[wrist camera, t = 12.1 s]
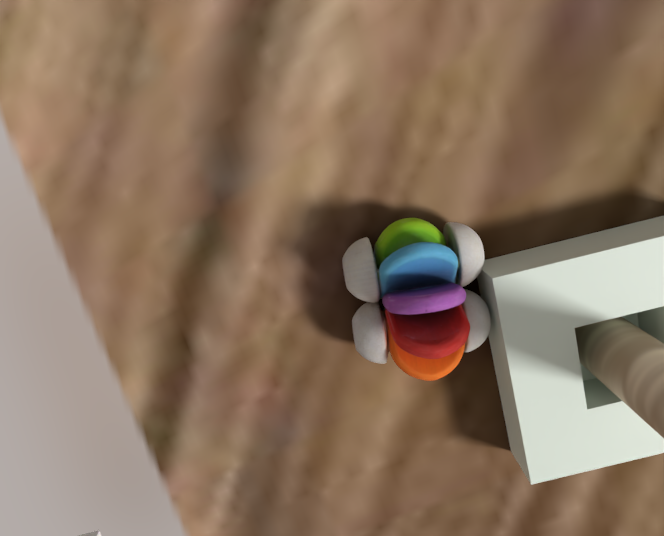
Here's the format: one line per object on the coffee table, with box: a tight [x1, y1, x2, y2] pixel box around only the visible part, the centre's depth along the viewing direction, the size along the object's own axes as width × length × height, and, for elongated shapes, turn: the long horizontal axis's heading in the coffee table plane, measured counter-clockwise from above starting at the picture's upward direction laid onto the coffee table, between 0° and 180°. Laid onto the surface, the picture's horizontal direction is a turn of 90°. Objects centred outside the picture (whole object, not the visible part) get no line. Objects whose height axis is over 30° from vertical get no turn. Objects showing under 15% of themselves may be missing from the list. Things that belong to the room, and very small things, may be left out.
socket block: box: [477, 216, 664, 485], centre depth 39 cm, size 14×14×4 cm
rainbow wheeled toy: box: [342, 218, 491, 381], centre depth 36 cm, size 8×10×7 cm
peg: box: [575, 317, 664, 438], centre depth 34 cm, size 4×4×14 cm
